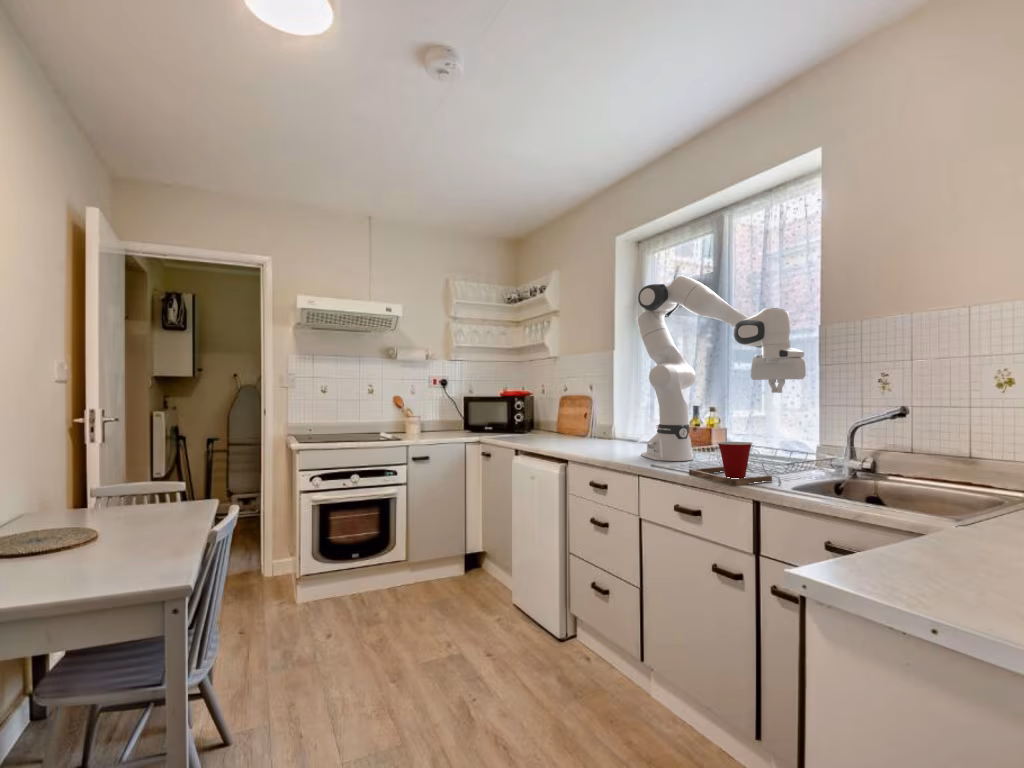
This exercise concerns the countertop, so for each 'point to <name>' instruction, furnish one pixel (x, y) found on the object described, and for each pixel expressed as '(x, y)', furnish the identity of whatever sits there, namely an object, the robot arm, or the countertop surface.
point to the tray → (733, 482)
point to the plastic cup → (735, 458)
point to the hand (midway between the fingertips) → (776, 392)
